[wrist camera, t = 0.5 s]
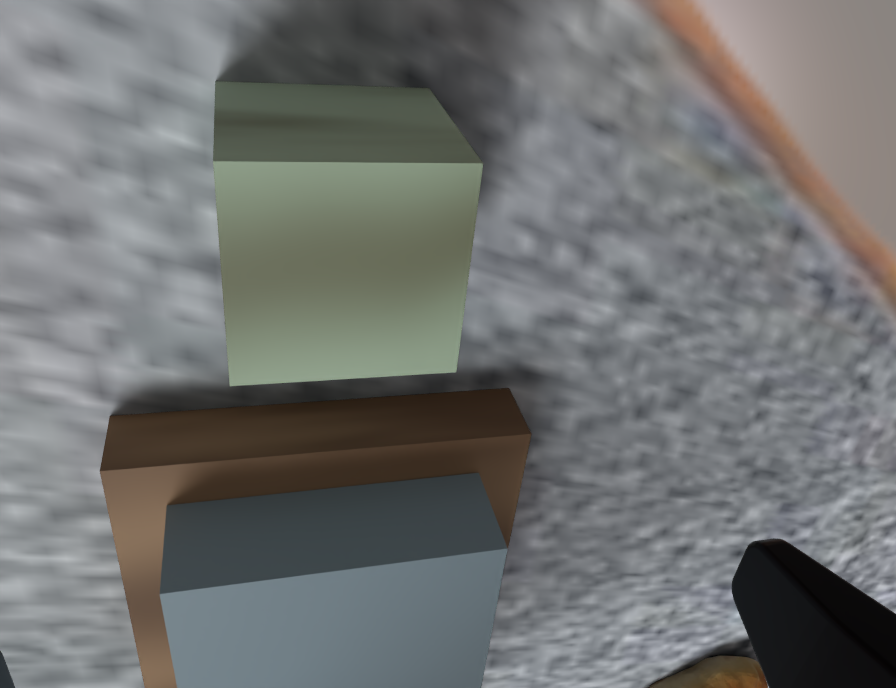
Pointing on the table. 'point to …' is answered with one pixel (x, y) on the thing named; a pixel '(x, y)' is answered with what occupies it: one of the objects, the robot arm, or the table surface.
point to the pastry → (718, 674)
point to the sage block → (341, 230)
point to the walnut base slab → (290, 470)
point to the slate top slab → (334, 587)
